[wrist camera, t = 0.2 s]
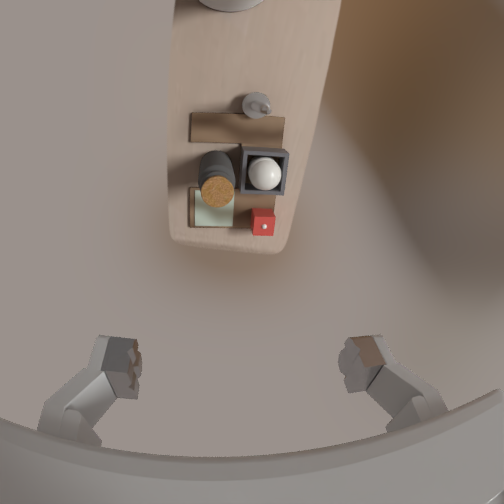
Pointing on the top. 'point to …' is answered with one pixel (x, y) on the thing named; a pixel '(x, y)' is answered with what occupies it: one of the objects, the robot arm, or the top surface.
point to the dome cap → (263, 172)
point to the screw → (256, 105)
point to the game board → (240, 207)
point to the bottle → (216, 179)
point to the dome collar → (249, 150)
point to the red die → (262, 222)
